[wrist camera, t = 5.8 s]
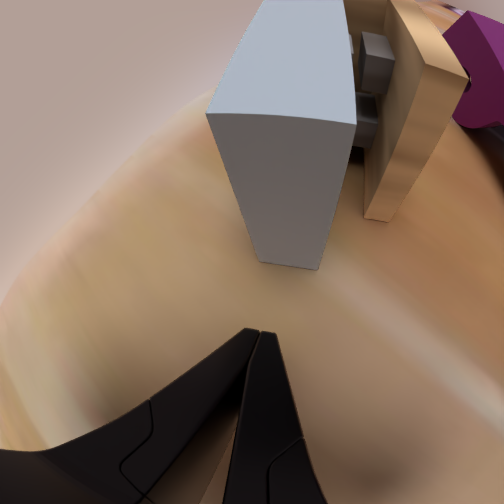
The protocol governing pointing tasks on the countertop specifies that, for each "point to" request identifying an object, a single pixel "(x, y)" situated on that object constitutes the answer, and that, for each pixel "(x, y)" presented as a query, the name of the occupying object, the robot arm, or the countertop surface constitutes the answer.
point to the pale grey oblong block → (288, 126)
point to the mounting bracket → (479, 69)
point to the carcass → (398, 95)
